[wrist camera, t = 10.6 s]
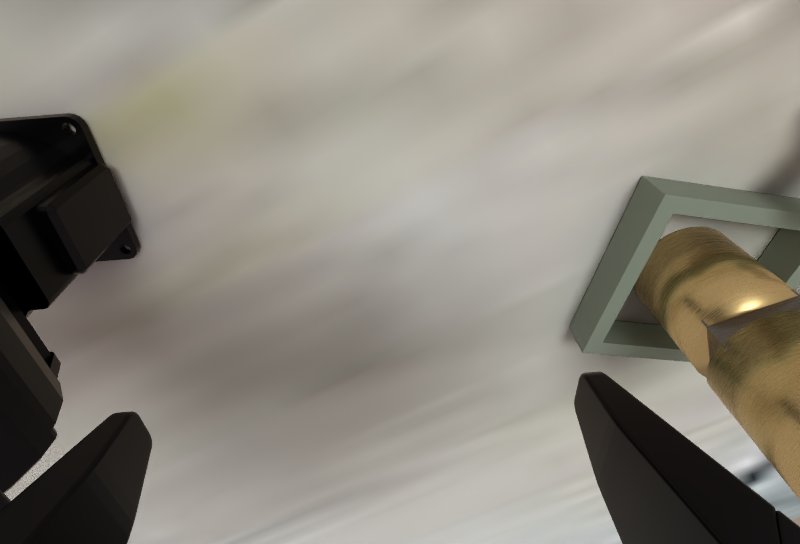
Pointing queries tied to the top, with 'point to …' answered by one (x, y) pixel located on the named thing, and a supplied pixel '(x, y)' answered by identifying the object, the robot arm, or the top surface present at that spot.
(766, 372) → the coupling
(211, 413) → the top surface
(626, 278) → the shaft bench
